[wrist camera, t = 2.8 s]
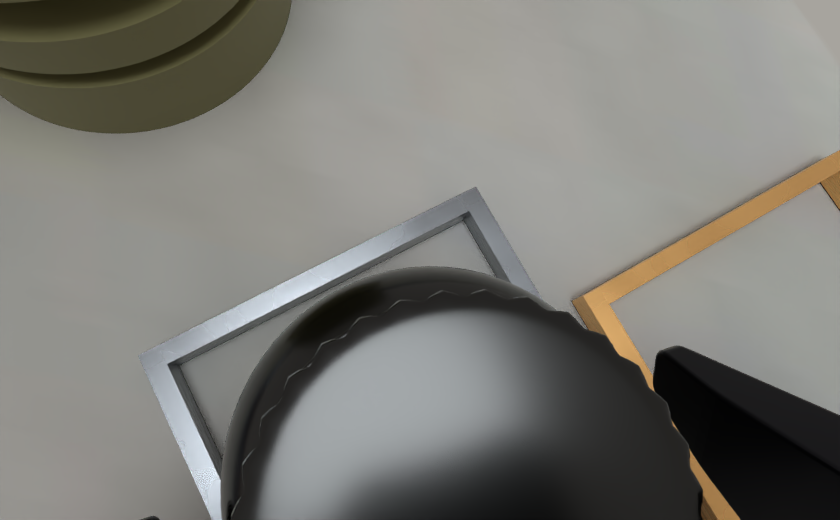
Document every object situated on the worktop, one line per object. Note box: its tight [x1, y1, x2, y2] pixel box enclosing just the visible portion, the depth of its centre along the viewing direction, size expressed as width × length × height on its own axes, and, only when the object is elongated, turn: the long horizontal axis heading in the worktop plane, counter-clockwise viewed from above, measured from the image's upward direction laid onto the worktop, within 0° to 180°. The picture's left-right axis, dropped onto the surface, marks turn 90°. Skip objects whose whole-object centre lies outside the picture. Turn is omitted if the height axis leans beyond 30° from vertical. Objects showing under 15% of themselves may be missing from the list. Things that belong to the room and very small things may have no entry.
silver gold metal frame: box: [138, 150, 840, 520], centre depth 17 cm, size 18×24×1 cm
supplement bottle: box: [220, 266, 703, 520], centre depth 11 cm, size 7×7×12 cm
